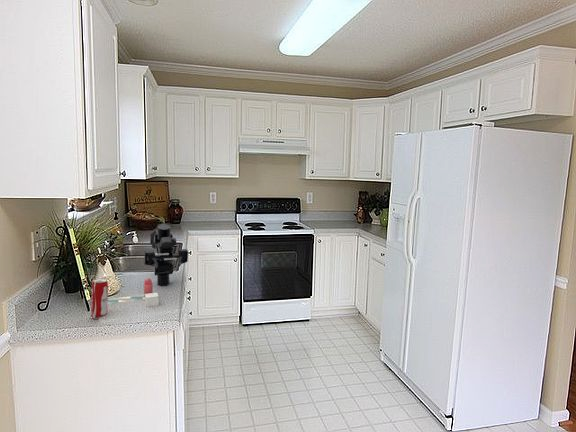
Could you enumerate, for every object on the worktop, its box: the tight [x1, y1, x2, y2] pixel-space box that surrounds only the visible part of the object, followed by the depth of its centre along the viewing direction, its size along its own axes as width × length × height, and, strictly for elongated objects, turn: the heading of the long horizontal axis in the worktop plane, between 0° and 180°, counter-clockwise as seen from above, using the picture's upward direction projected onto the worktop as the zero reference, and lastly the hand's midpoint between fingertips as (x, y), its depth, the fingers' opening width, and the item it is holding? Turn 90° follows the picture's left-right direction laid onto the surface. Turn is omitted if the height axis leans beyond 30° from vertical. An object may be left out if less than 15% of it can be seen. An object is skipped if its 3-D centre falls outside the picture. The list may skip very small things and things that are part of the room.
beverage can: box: [90, 278, 109, 320], centre depth 152 cm, size 6×6×15 cm
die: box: [144, 292, 160, 307], centre depth 165 cm, size 5×5×5 cm
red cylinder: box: [143, 277, 154, 297], centre depth 173 cm, size 4×4×8 cm
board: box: [107, 294, 145, 305], centre depth 170 cm, size 6×20×1 cm, turn 115°
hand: (168, 266), depth 166 cm, fingers open, 9 cm apart
